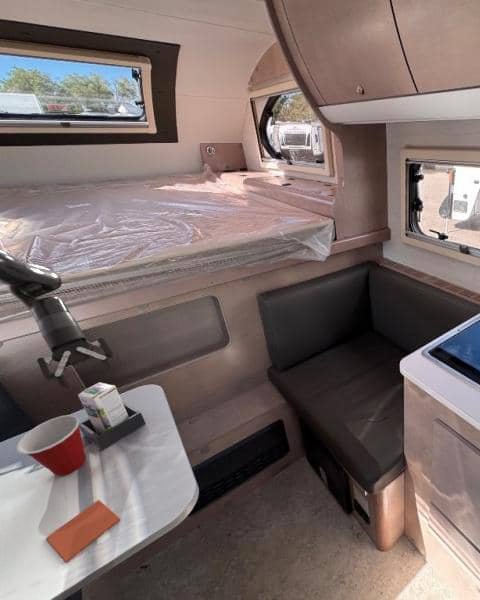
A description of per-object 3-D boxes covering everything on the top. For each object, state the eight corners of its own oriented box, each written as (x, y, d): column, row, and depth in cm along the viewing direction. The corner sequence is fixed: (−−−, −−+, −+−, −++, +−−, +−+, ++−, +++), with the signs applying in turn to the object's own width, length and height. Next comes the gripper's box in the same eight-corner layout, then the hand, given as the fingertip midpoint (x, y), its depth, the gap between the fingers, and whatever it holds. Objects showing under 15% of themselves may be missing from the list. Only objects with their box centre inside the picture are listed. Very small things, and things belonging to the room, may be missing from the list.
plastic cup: (30, 476, 79) (5, 440, 74) (84, 443, 88) (65, 409, 83) (52, 494, 75) (28, 458, 70) (107, 457, 84) (88, 423, 79)
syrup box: (96, 435, 90) (75, 395, 84) (118, 420, 95) (99, 381, 89) (112, 440, 89) (92, 399, 83) (133, 424, 94) (115, 384, 88)
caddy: (103, 450, 86) (96, 438, 84) (84, 436, 90) (77, 424, 88) (145, 423, 94) (140, 412, 92) (126, 411, 98) (121, 400, 96)
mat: (66, 562, 63) (66, 561, 62) (46, 539, 66) (45, 537, 66) (120, 519, 70) (119, 518, 70) (99, 500, 74) (98, 499, 73)
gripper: (22, 337, 83) (51, 390, 82) (93, 316, 94) (120, 363, 92) (28, 347, 88) (56, 398, 87) (95, 327, 99) (121, 371, 97)
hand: (89, 380), depth 90 cm, fingers open, 8 cm apart
